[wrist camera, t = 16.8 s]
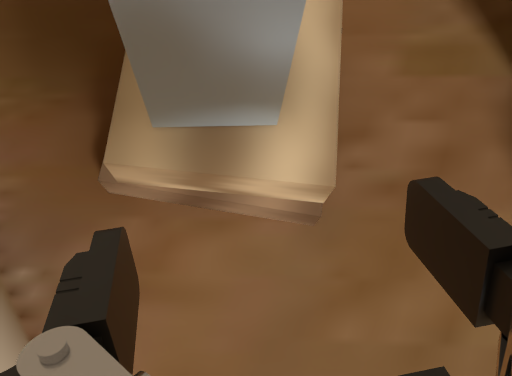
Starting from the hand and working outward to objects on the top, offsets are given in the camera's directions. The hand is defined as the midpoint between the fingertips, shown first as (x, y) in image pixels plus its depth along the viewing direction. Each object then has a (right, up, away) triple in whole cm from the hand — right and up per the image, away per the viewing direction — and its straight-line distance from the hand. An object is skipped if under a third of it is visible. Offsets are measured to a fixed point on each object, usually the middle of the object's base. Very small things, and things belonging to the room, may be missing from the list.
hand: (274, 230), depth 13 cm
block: (-3, +7, +10) cm, 13 cm away
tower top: (-2, +6, +13) cm, 15 cm away
